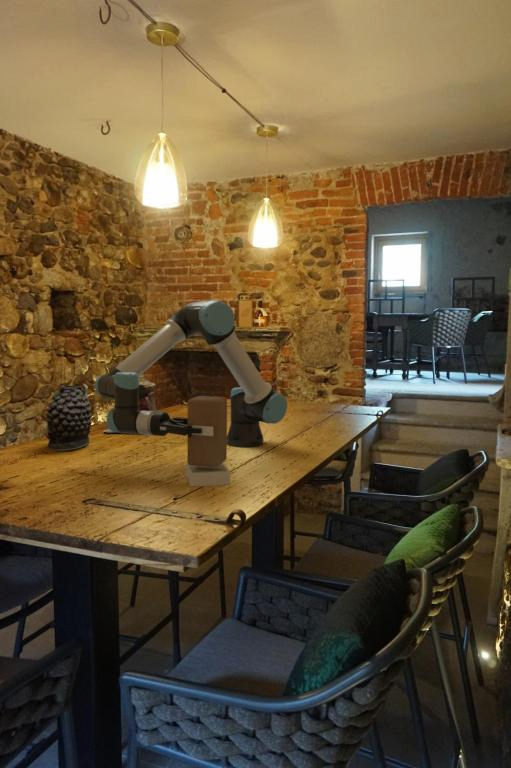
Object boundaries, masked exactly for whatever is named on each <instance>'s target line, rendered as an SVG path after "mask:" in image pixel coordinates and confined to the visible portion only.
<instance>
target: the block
mask: <svg viewBox="0 0 511 768" xmlns="http://www.w3.org/2000/svg"><path fill="white" fill-rule="evenodd" d="M187 418H188V425H189V426H191V428H192V425H198V426H212V427H214V436H203V435H192V433H191V437H188V436H187V463H188V464H189V465H196V466H211V467H217V466H219V465H220V464H222V463H223V462H224V463H225V461H226V460H227V457H228V455H227V453H228V452H227V449H228V448H227V445H228V444H227V434H228V399H227V397H225V396H215V395H214V396H213V395H212V396H211V395H210V396H208V395H198V396H195V397H192V398H190V399H187Z"/></svg>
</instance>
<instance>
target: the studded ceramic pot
mask: <svg viewBox="0 0 511 768" xmlns="http://www.w3.org/2000/svg"><path fill="white" fill-rule="evenodd" d="M88 389H89V387H88V385H87V384H86V383H83V382H81V383H80V384H77V383H75V385H69V383H67V385H66V384H63V383H60V384H59V389H57V390H56V391H55V392H54V394H53V395H52V398H51V401H50V403H49V404H48V405H49V406H48V407H47V408H46V413H45V415H46V417H45V419H46V420H45V421H46V422H47V423H46V426H47V429H48V430H47V432H46V433H45V434H44V438H46V439H48V443H47V448H48V449H49V450H51V451H61V452H62V451H69V450H70V451H71V450H76V449H80V448H83V447H85V446H87V445H89V444H90V437H89V435H90V433H91V429H92V424H93V422H92V409H91V402H90V401H89V400H88V399H89V397H88V395H87V393H88V392H87V390H88Z"/></svg>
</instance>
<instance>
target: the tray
mask: <svg viewBox="0 0 511 768" xmlns="http://www.w3.org/2000/svg"><path fill="white" fill-rule="evenodd" d="M185 476H186V480H187V483H188V485H190V486H196V487H210V486H211V487H212V486H230V485H231V471H230V469H229V467H228V466H227V464H226V463H225V461H224V462H223V463H222V464H220V465H219V466H217V467H211V466H196V465H189V464H188V462H187V463H185ZM190 486H189V487H190Z"/></svg>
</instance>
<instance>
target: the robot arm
mask: <svg viewBox="0 0 511 768" xmlns="http://www.w3.org/2000/svg"><path fill="white" fill-rule="evenodd" d="M236 329H237V327H236V325H235V313H234V311H233V309H232V308H231V307H230V305H228V304H227V303H226V302H224V301H220V300H215V299H214V300H213V299H211V300H205V301H191V302H189V303H187V304H186V305H184V306H183V307H181V308H180V309H178V311H176V312H175V313H173V315H171V316H170V317H169V318H168V319H167V320H166V321H165V325H164V326H162V327H161V328H160V329H159V330H158V331H157V332H155V333H154V335H152V336H151V337H149V338H148V340H146V341H144V343H142V345H140V346H139V347H138V348H137V349H136V350H135V351H133V352H131V354H130V355H129V356H127V357H126V358H125V359H124V360H122V361H121V362H120V363H119V364H118V365H116V367H114V368H113V369H112V370H111V371H109V372H108V373H107V374H106V373H105V374H101V375H99V376H98V377H97V378H96V379H95V381H94V385H93V386H94V391H95V392H96V394H98V395H99V396H101V397H103V398H106V399H112V400H114V408H112V409H111V410H109V411H108V413H107V417H106V418H105V419H106V427H107V429H108V428H109V430H111V431H113V432H112V433H120V434H131V435H132V434H133V435H144V437H148V436H155V437H156V436H157V437H158V436H159V437H165V436H166V435H168V434H173V435H178V436H183V437H185V436H187V438H188V437H191V433H192V435H203V436H214V427H212V426H198V425H192V428H191V426H189V425H188V417H181V416H180V417H172V418H170V417H171V416H170V415H169V413H168V412H166V411H157V412H155V411H140V410H139V381H138V377H139V376H140V375H141V374H142V373H143V372H145V373H146V371H147V370H148V369H149V368H150V367H151V366H153V365H154V364H155V363H156V362H158V361H159V360H160V359H161V358H162V357H163V356H164V355H165V354H167V353H168V352H169V351H170V350H171V349H172V348H173V347H174V346H176V345H177V344H178V343H179V342H185V341H186V340H187V339H188V338H190V337H193V336H194V335H201V336H202V338H203V339H204V341H205V342H206V343H207V345H208V346H212V347H214V348H215V350H216V351H217V353H218V354H219V356H220V357H221V359H222V360H223V362H224V364H225V365H226V367H227V368H228V370H229V371H230V373H231V375H233V378H234V379H235V380H236V382H237V384H238V385H239V387H233V388H232V389H231V391H230V398H229V399H230V425H229V429H228V430H227V445H229V446H232V447H240V448H241V447H243V448H248V447H249V448H251V447H259V446H261V445H264V435H263V433H262V429H261V425H260V422H262V423H265V424H268V425H269V424H271V425H272V424H278V423H279V422H281V421H282V420H283V419H284V418H285V416H286V414H287V409H288V401H287V398H286V397H285V395H283V394H282V393H279V392H276V390H275V388H274V387H273V386H272V384H271V383H270V382H266V381H265V380H264V379H263V377H262V376H261V374H260V372H259V371H258V369H257V367H256V366H255V364H254V362H253V361H252V359H251V357H250V356H249V354H248V353H247V351H246V349H245V348H244V347H243V345H242V343H241V342H240V340H239V338H238V336H237V334H236V333H235V332H236Z"/></svg>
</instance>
